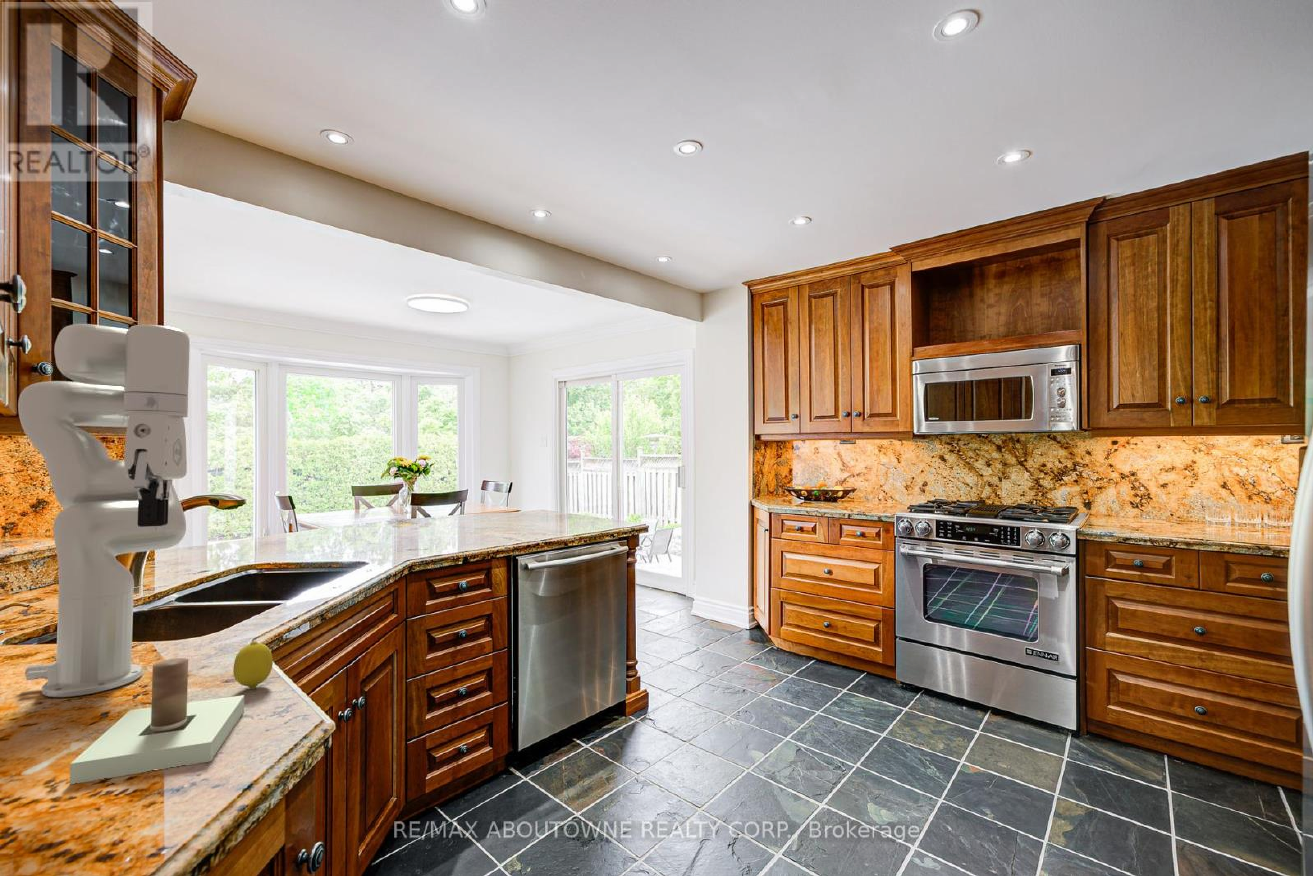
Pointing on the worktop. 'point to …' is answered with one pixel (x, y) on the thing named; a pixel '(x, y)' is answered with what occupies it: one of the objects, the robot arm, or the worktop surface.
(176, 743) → the board
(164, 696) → the peg
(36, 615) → the worktop surface
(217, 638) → the worktop surface
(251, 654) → the lemon
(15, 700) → the worktop surface
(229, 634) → the worktop surface
